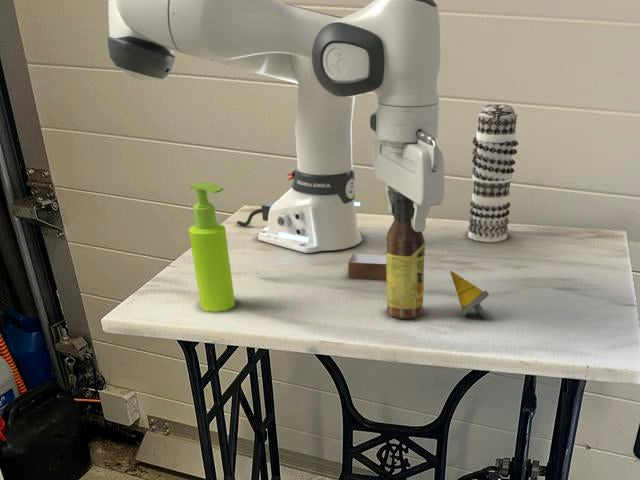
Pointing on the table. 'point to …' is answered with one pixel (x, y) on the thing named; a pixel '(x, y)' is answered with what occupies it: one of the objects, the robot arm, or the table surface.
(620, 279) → the table surface
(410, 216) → the sauce bottle
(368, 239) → the table surface
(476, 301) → the yellow tipped cone
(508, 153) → the decorative candle
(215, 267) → the lime green necked cylinder
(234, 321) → the table surface
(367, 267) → the plywood offcut
